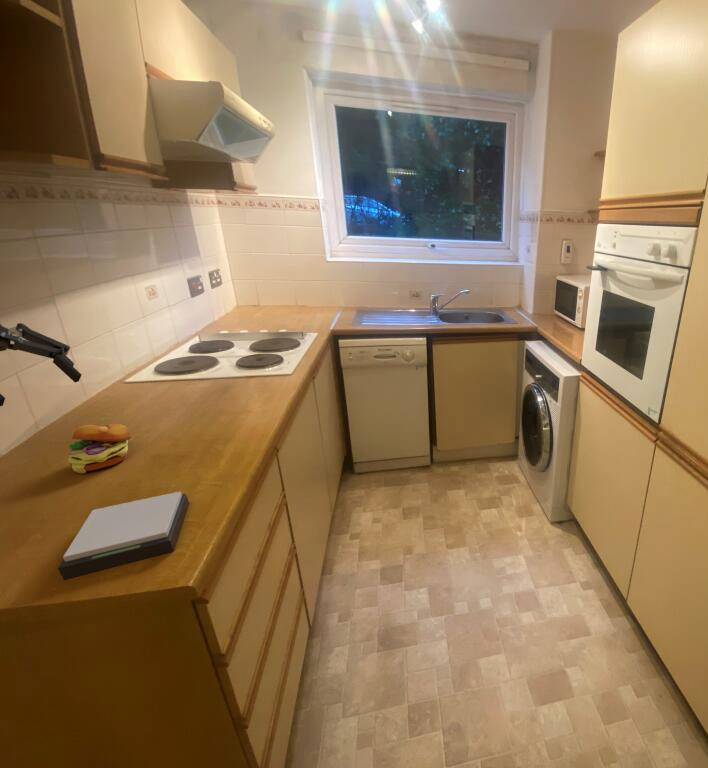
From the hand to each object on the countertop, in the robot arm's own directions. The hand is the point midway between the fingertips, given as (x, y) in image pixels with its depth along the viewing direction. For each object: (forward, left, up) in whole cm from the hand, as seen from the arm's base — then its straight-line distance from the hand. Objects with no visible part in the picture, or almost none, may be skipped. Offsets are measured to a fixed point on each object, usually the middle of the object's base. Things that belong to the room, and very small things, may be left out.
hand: (42, 390), depth 94 cm
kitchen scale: (+21, -40, -16) cm, 48 cm away
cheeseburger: (+8, -7, -16) cm, 19 cm away
